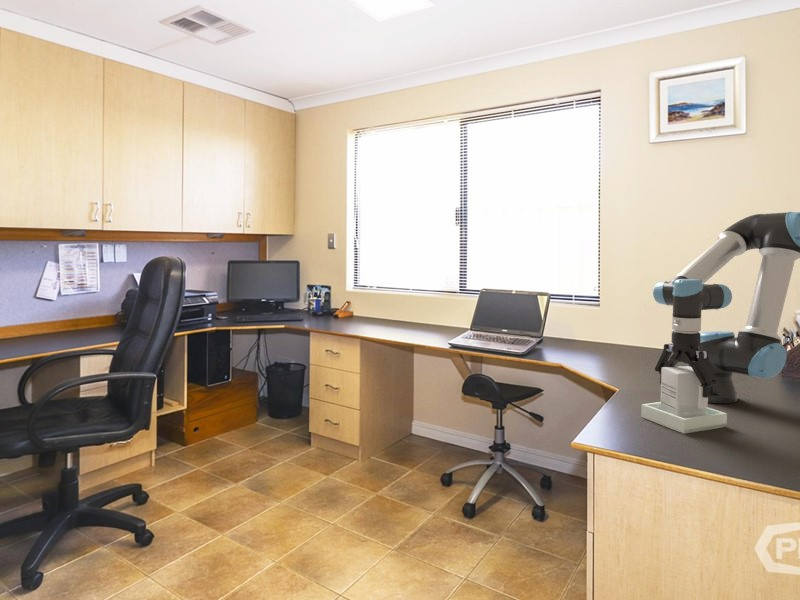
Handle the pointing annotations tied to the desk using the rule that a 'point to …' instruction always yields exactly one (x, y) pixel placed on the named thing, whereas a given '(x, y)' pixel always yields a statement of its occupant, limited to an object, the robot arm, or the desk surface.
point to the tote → (684, 419)
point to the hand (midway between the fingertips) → (683, 401)
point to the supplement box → (680, 392)
